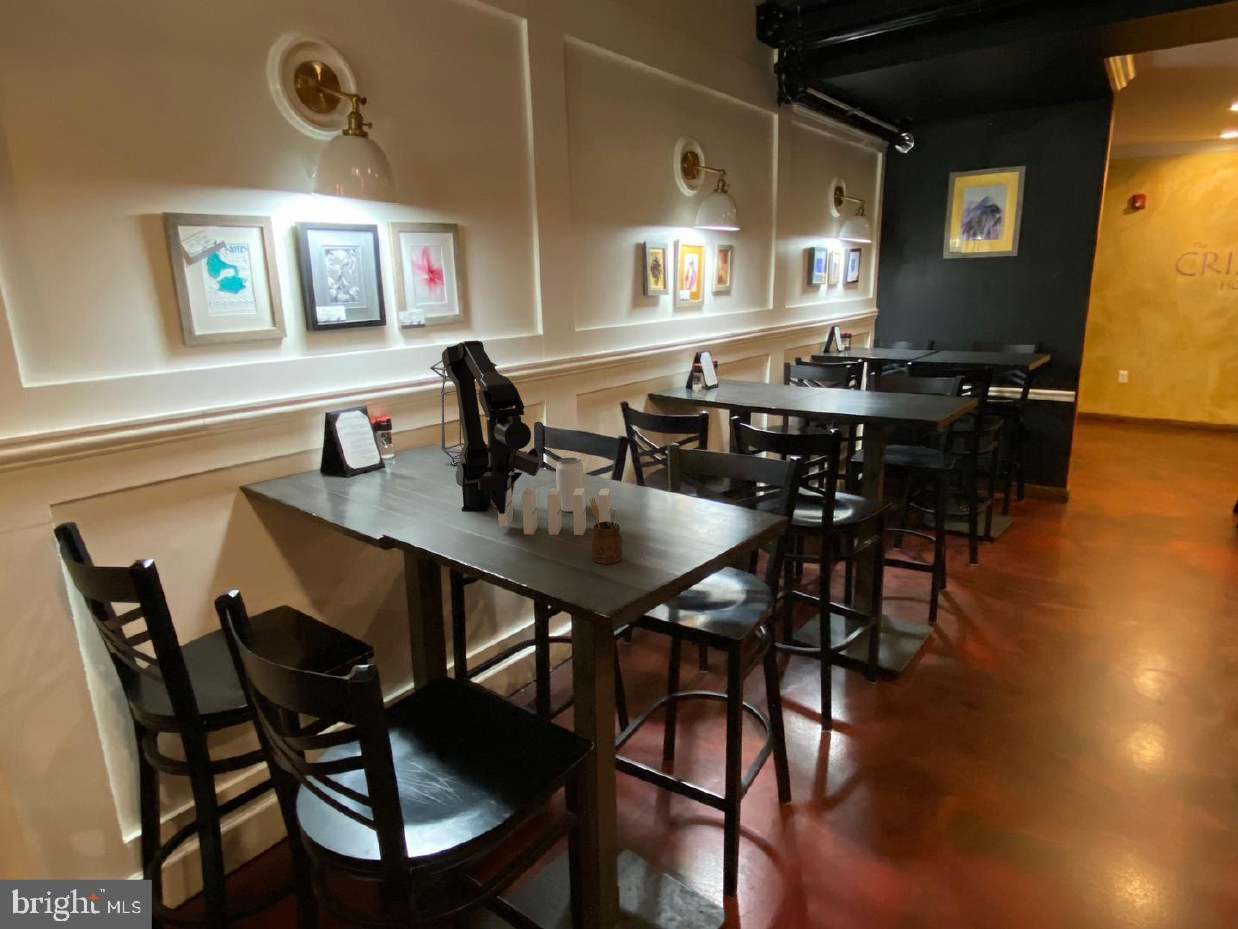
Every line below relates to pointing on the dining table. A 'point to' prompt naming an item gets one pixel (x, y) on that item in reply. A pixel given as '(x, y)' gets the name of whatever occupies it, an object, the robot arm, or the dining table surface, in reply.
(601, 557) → the utensil holder
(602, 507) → the domino
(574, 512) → the domino
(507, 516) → the domino
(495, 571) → the dining table surface
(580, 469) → the can
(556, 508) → the domino
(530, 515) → the domino
